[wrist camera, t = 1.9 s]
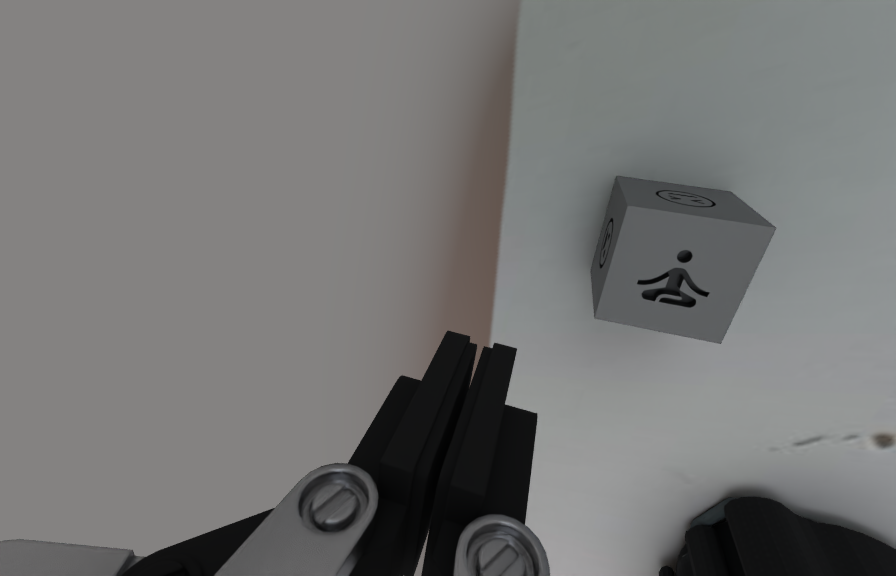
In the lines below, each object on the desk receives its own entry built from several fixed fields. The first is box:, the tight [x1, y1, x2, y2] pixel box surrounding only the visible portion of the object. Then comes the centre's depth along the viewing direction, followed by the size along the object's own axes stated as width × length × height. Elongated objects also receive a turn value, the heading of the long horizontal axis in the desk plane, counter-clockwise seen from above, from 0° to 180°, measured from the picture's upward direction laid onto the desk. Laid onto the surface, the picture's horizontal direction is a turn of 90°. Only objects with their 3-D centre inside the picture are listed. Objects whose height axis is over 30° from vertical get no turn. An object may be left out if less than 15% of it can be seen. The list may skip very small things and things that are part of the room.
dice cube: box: [591, 176, 776, 344], centre depth 19 cm, size 5×5×5 cm
